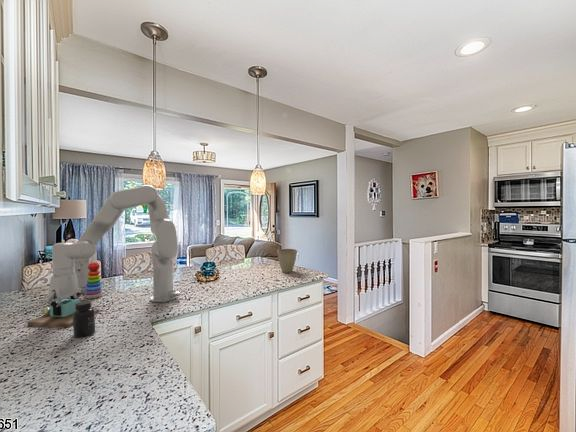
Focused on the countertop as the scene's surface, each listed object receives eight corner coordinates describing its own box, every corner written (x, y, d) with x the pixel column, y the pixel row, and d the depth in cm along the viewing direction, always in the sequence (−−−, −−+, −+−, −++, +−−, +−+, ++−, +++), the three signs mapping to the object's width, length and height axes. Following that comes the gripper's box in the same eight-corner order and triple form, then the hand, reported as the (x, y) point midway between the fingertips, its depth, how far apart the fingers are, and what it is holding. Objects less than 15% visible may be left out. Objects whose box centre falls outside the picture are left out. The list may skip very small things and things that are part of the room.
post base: (98, 312, 128) (98, 299, 128) (69, 327, 112) (68, 312, 112) (62, 310, 129) (62, 298, 129) (27, 325, 113) (27, 311, 113)
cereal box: (90, 292, 158) (89, 248, 157) (73, 293, 154) (72, 249, 153) (97, 282, 177) (96, 243, 176) (82, 283, 174) (81, 244, 173)
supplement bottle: (92, 328, 111) (91, 298, 111) (97, 333, 107) (97, 302, 106) (70, 334, 106) (70, 303, 105) (76, 339, 102) (75, 307, 101)
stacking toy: (93, 299, 145) (92, 264, 144) (80, 298, 146) (79, 263, 146) (106, 294, 152) (105, 261, 152) (94, 294, 154) (93, 260, 153)
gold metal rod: (50, 315, 120) (49, 307, 120) (47, 316, 119) (46, 308, 119) (47, 315, 120) (46, 307, 120) (44, 316, 119) (43, 308, 119)
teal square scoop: (79, 310, 124) (79, 299, 124) (65, 316, 117) (65, 305, 117) (52, 309, 125) (52, 298, 125) (37, 315, 118) (37, 304, 118)
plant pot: (298, 273, 201) (298, 251, 200) (278, 274, 199) (278, 251, 198) (295, 268, 216) (295, 248, 215) (276, 269, 214) (276, 248, 213)
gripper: (73, 266, 129) (74, 304, 130) (36, 276, 112) (37, 319, 112) (88, 267, 128) (89, 305, 129) (53, 276, 111) (54, 320, 112)
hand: (65, 311), depth 121 cm, fingers closed on teal square scoop, 7 cm apart
